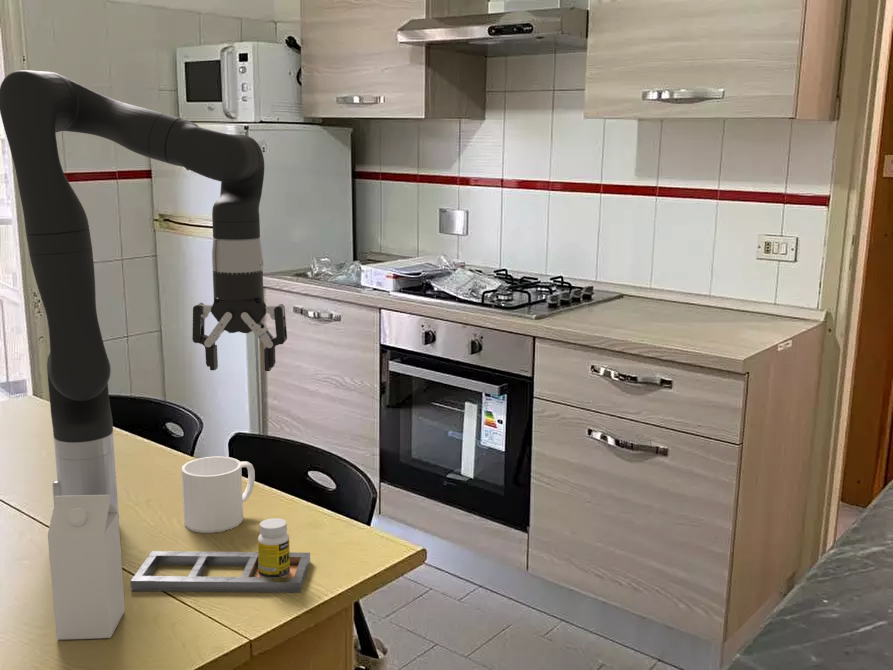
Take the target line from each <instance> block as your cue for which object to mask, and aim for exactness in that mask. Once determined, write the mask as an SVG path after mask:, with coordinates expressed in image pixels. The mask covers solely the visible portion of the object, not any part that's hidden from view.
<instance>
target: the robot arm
mask: <svg viewBox="0 0 893 670" xmlns="http://www.w3.org/2000/svg"><path fill="white" fill-rule="evenodd" d="M0 117H1V121H2V124H3V127H4V128H3V129H4V133H5V135H6V138H7V139H6V140H7V142H8V147H9V150H10V153H11V157H12V160H13V161H12V162H13V166H14V170H15V174H16V175H15V176H16V179H17V186H18V192H19V197H20V202H21V207H22V213H23V214H22V215H23V219H24V226H25V227H24V228H25V230H24V231H25V235H26V242H27V246H28V255H29V260H30V262H31V263H30V264H31V267H32V268H31V269H32V272H33V275H34V278H35V282H36V286H37V289H38V292H39V295H40V298H41V301H42V305H43V307H44V311H45V314H46V320H47V325H48V334H49V337H48V338H49V350H50V351H49V355H48V356H47V359H46V360H47V361H46V362H47V363H46V370H47V373H46V374H47V382H48V383H47V384H48V393H49V406H50V408H49V409H50V417H51V424H52V434H53V441H54V443H53V444H54V454H55V455H54V457H55V468H56V479H55V481H54V482H52V496H53V497H52V498H53V499H54V496H69V495H110V503H111V504H112V505H113V507H114V508H115V509H116V510H117V512H118V516H119V517H120V513H119V500H118V499H119V498H118V484H117V472H116V470H117V468H116V453H115V441H114V440H115V439H114V426H113V425H114V424H113V415H112V409H111V404H110V402H111V401H110V395H109V394H110V392H109V380H110V378H111V377H110V376H111V363H110V360H109V358H108V354H107V351H106V348H105V343H104V340H103V336H102V333H101V327H100V324H99V318H98V313H97V300H96V296H97V295H96V276H95V275H96V274H95V262H94V256H93V252H94V251H93V245H92V239H91V232H90V225H89V221H88V216H87V214H86V211H85V209H84V206H83V204H82V203H81V201H80V199H79V197H78V195H77V194H76V192H75V191H74V188H73V187H72V186H71V184H70V182H69V180H68V179H67V177H66V174H65V172H64V170H63V168H62V164H61V160H60V156H59V150H58V143H57V135H56V133H59V132H70V133H71V132H72V133H80V134H87V135H92V136H97V137H101V138H104V139H106V140H110V141H112V142H114V143H116V144H118V145H119V146H121V147H123V148H125V149H128V150H129V151H132V152H133V153H136V154H138V155H141V156H142V157H143V156H144V157H146V158H149V159H152V160H156V161H159V162H162V163H166V164H169V165H173V166H178V167H182V168H185V169H187V170H189V171H191V172H193V173H195V174H198V175H199V176H203V177H205V178H207V179H211V180H213V181H217V182H220V193H219V194H220V195H219V198H218V199H217V200H216V201H215V202H214V203H213V206H212V213H211V215H212V219H211V220H212V237H213V239H212V248H211V260H212V261H211V264H212V266H211V267H212V287H213V304H205V303H203V302H199V303H197V304H195V305H194V306H193V308H192V337H191V338H192V340H191V341H192V342H193V343H194V344H200V345H203V346H204V348H205V349H204V350H205V353H204V354H205V365H206V367H208V368H209V371H216V370H217V369H218V368H219V367H218V366H219V363H218V361H219V360H218V345H217V344H216V342H217V341H218V340H219V338H220V337H221V335H222V334H223V333H224V332H228V334H235V333H243V334H250V333H251V332H253V334H254V335H255V336H256V338H259V340H260V341H261V342H262V343H263V345H264V346H265V347H264V348H263V351H264V352H263V355H264V357H263V358H264V359H263V360H264V362H263V363H264V372H271V370H272V368H274V367H275V365H276V346H279V345H284V343H285V342H286V341H287V340H288V333H287V322H286V321H287V320H286V319H287V318H286V309H285V307H286V306H285V305H284V304H283V303H278V305H267V304H266V303H265V300H264V268H263V267H264V259H263V250H262V244H261V228H260V226H261V225H260V223H261V221H260V204H261V198H262V193H263V185H264V178H265V158H264V153H263V150H262V148H261V146H260V144H259V143H258V142H257V140H255V139H254V138H253V137H250V136H249V135H245V134H231V133H225V132H221V131H217V130H212V129H208V128H205V127H201V126H198V124H196V123H195V122H192V121H190V120H187V119H184V118H181V117H178V116H174V115H171V114H167V113H164V112H160V111H157V110H152V109H150V108H145V107H141V106H137V105H134V104H130V103H125V102H123V101H119V100H116V99H113V98H112V97H108V96H106V95H103V94H101V93H98V92H96V91H94V90H92V89H90V88H88V87H87V86H84V85H82V84H81V83H78V82H75V81H74V80H72V79H70V78H67V77H66V76H64V75H62V74H60V73H57V72H53V71H46V70H44V71H41V70H30V69H28V70H26V69H25V70H23V69H22V70H15V71H12V72H10V73H9V74H7V75H6V76H5V77H4V78H3V80H2V82H1V84H0ZM210 313H211V315H213V317H214V319H216V321H217V322H218V323H217V324H216V325H215V327H214V328H213V329H212V330H211V332H210V333H209V335H206V334H205V323H206V321H205V319H206V318H208V317H209V314H210ZM267 314H268V315H269V316H270V319H272V320H273V321H274V325H275V336H273V334H272V332H270V331H269V328H268V327H267V325H266V324H265V323H264V322H263V318H265V316H266V315H267ZM54 505H55V501H54V500H53V506H54Z"/></svg>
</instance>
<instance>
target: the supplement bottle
mask: <svg viewBox="0 0 893 670" xmlns="http://www.w3.org/2000/svg"><path fill="white" fill-rule="evenodd" d="M287 525H288V524H287V521H286V520H285V519H282V518H274V517H273V518H267V519H263V520H262V521H261V522H260V523H259V532H260V533H259V535H258V538H257V552H258V567H259V576H260V577H287V576H288V575H289V573H290V536H289V533H288V528H287ZM258 567H257V568H258Z"/></svg>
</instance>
